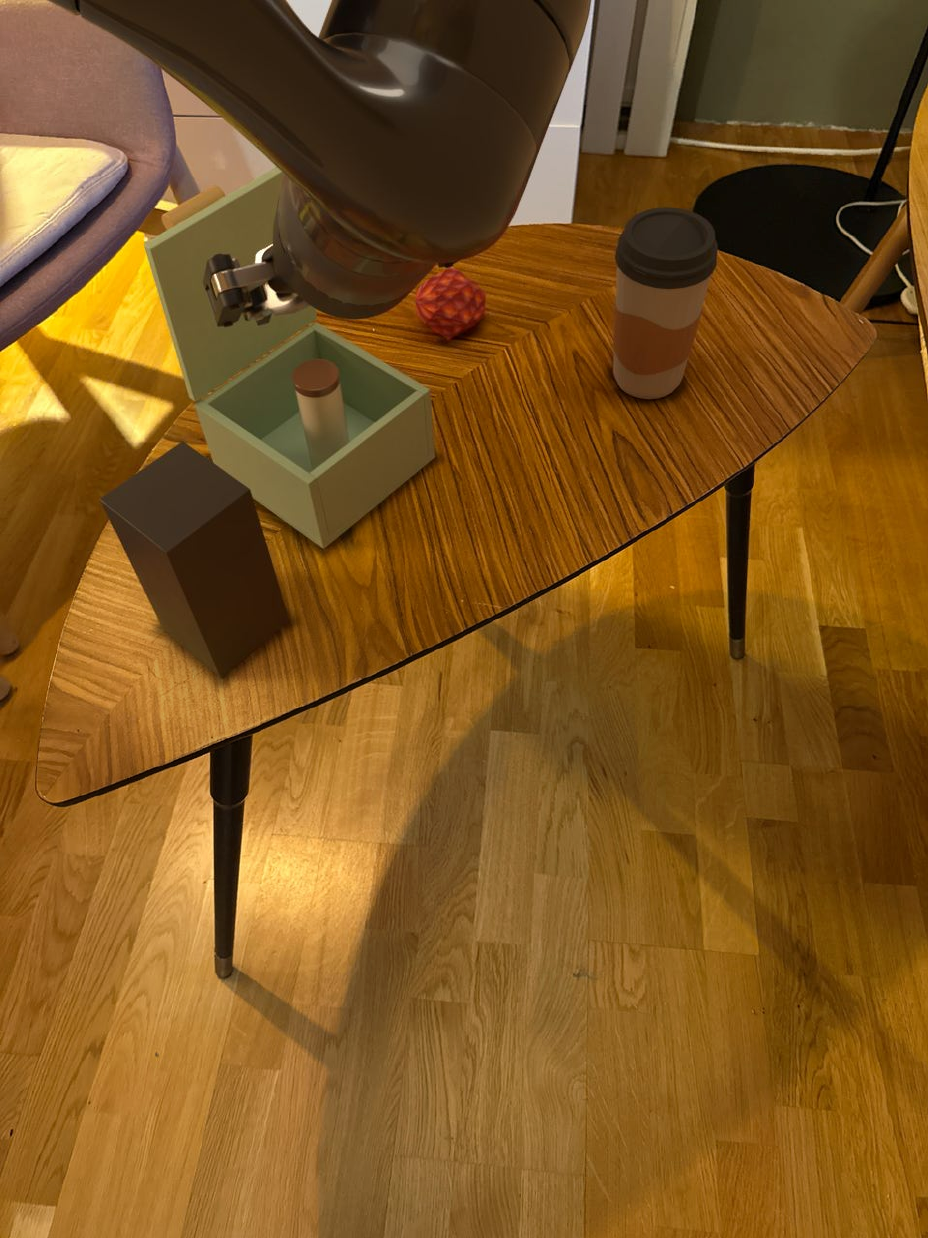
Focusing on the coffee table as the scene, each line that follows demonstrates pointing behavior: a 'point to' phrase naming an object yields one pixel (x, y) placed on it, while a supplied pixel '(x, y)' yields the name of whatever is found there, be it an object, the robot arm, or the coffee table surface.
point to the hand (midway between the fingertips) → (324, 289)
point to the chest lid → (180, 271)
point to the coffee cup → (659, 297)
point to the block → (199, 556)
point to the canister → (321, 408)
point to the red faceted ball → (450, 303)
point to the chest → (276, 444)
